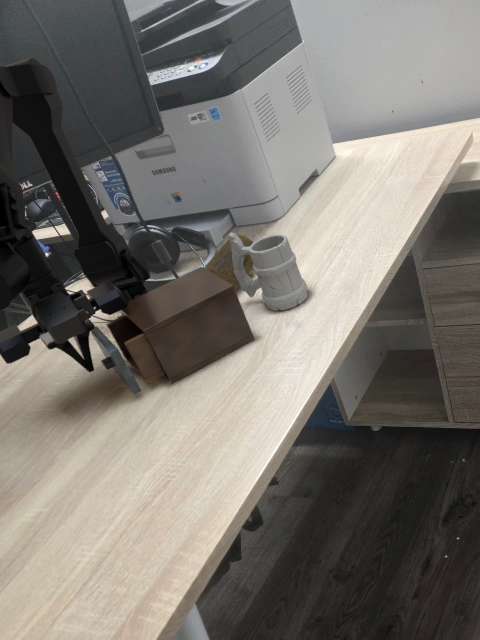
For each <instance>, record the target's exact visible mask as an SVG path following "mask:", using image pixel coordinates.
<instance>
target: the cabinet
mask: <svg viewBox="0 0 480 640" xmlns="http://www.w3.org/2000/svg"><path fill="white" fill-rule="evenodd" d="M204 268H205V267H202V266H200V267H197V268H195V269H193V270H191V271H189V272H187V273H185V274H183V275H180V276H179V277H177V278H175V279H172V280H171V281H168V282H166V283H165V284H162V285H159V286H158V287H156V288H154V289H152V290H150V291H148V293H146V294H144V295H142V296H139V297H137V298H135V299H133V300H131V301H129V302H127V303H128V306H127V307H126V308H124V309H122V310H120V311H119V312H120V313H121V315H123V316H124V315H125V316H126V317H127V318H128V319H129V320H130V321H132V322H133V323H134V324H135V325H136V326H137V327H138V328H139V329H140V330H141V331H142V332H143V333H145V336H146V338H147V339H148V341H149V343H150V345H151V347H152V349H153V351H154V353H155V355H156V357H157V358H158V360H159V362H160V364H161V366H162V368H163V370H164V372H165V375H163V376H162V377H164V378H165V379H166V380H167V381H168V382H169V383H170V384H174V383H176V382H178V381H180V380H181V379H184V378H185V377H188V376H190V375H191V374H193V373H195V372H197V371H198V370H199V371H200V369H202V368H205V367H206V366H208V365H210V364H211V363H214V362H216V361H217V360H219V359H221V358H223V357H225V356H227V355H229V354H230V353H232V352H234V351H236V350H238V349H239V348H241V347H244V346H245V345H247V344H249V343H251V342H252V341H254V340H255V337H254V334H253V332H252V329H251V326H250V324H249V322H248V319H247V317H246V314H245V311H244V309H243V306H242V304H241V301H240V299H239V297H238V294H237V291H236V290H235V289H234V286H233V285H231V284H230V283H228V282H226V281H225V280H223V279H221V278H219V277H218V276H216V275H214V274H213V273H211V272H209V271H208V270H206V269H204Z"/></svg>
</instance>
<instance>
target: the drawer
mask: <svg viewBox="0 0 480 640" xmlns="http://www.w3.org/2000/svg"><path fill="white" fill-rule="evenodd" d="M119 317H120V316H119ZM94 326H95V328H94V329H93V330H91V331H90V335H92V337H93V338H94V340H95V342H96V344H97V346H98V347H99V349H100V351H101V352H102V354H103V356H104V357H105V358H103V359H101V360H100V362H101V363H102V365H103V367H104V368H105V370H106V371H109V370H113V372H114V373H115V374H116V375H117V376H118V378H119V379H120V380H121V381H122V382H123V384H125V386H126V387H127V389H129V391H130V392H131V393H132V394H133V395H134V396H136V395H137V394H139V393H142V388H141V387H140V386H139V384H138V382H137V380H136V378H135V377H134V374H133V373H132V371H131V370H130V368H129V366H128V364H129V365H130V367H132V369H133V370H134V371H135V372H136V373H137V375H139V376H140V377H141V379H143V381H144V382H145V383H146V384H150V383H151V382H153V381H155V380H157V379H159V378H161V377H164V376H163V375H165V372H164V370H163V368H162V366H161V364H160V362H159V360H158V358H157V357H156V355H155V353H154V351H153V349H152V347H151V345H150V343H149V341H148V339H147V338H146V336H145V333H143V332H142V331H141V330H140V329H139V328H138V327H137V326H136V325H135V324H134V323H133V322H132V321H130V320H129V319H128V318H127V317H126V316H125V315H124V316H122V317H120V318H118V317H117V318H116V319H114V320H112V321H110V322H107V323H106V327H107V329H108V330H109V332H110V334H111V335H112V337H113V339H114V341H115V343H116V344H117V347H116V345H115V344H114V343H113V342H112V341H111V340H110V339H109V338H108V336H106V334H105V333H104V332H103V331H102V330H101V329H100V328H99V327H98V326H97V325H94ZM121 353H122V354H121ZM127 363H128V364H127Z"/></svg>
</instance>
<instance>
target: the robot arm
mask: <svg viewBox="0 0 480 640" xmlns="http://www.w3.org/2000/svg"><path fill="white" fill-rule="evenodd" d="M62 120H63V102H62V98H61V97H60V94H59V91H58V84H57V81H56V79H55V76H54V74H53V73H52V71H51V70H50V68H49V67H48V66H47V65H46V64H45V65H44V64H41V62H39V60H37V59H36V58H34V57H30V58H26V59H24V60H20V61H17V62H14V63H9V64H6V65H0V311H3V310H5V309H7V308H8V307H9V306H10V305H11V304H12V302H14V300H15V299H16V298H17V297H18V296H19V297H20V298H21V299H22V301H23V302H24V304H25V306H26V307H27V308H28V311H30V314H31V315H32V317H33V318H34V320H35V321H36V323H35V324H33V325H30V326H29V327H27V328H24V329H23V330H21V329H20V328H19V326H18V325H17V324H14V325H11V326H9V327H7V328H4V329H3V330H0V356H1V358H2V360H3V361H4V362H5V363H6V365H9V364H13V363H15V362H17V361H19V360H22V359H23V358H25V357H27V356H29V354H30V353H31V350H32V349H31V348H32V347H31V345H30V344H31V343H33V342H35V341H37V340H41V342H43V344H44V345H45V347H46V348H47V350H50V351H51V350H54V349H58V350H60V351H61V352H63V353H65V354H66V355H68V356H69V357H71V358H72V359H73V360H74V361H75V362H76V363H78V365H80V366H81V367H82V368H84V369H85V370H86V371H87V372H89V373H92V372H94V371H95V367H94V362H93V357H92V353H91V347H90V334H91V332H90V331H91V330H93V329H94V328H95V326H96V325H95V324H94V323H93V322H92V320H91V319H92V316H94V315H96V313H97V312H98V311H100V312H101V313H102V314H105V315H108V316H112V315H114V314H117V313H118V312H121V311H120V310H122V309H124V308H126V307H127V306H128V303H127V302H129V301H131V300H133V299H135V298H137V297H139V296H142V295H144V294H146V293H148V292H149V291H148V289H147V288H146V285H145V282H146V281H147V280H149V279H151V278H152V276H151V271H150V267H149V265H148V262H147V260H146V259H145V258H144V257H142V256H140V255H139V254H138V253H136V252H135V251H134V250H132V249H130V247H129V245H128V243H127V241H126V240H125V238H124V236H123V235H121V234H120V233H119V232H118V231H116V230H115V229H114V228H112V226H110V225H109V224H107V221H106V220H105V218H104V216H103V214H102V210H101V209H100V207H99V205H98V203H97V200H96V198H95V196H94V194H93V192H92V189H91V188H90V185H89V184H88V182H87V179H86V177H85V175H84V172H83V170H82V168H81V166H80V164H79V162H78V159H77V158H76V155H75V154H74V151H73V149H72V147H71V145H70V143H69V140H68V139H67V136H66V134H65V132H64V130H63V127H62V124H63V123H62V122H63V121H62ZM13 125H14V126H15V127H17V128H18V129H19V130H20V131H22V132H23V134H25V135H26V136H27V137H29V139H30V141H31V143H32V144H33V147H34V149H35V150H36V153H37V155H38V157H39V159H40V161H41V162H42V165H43V167H44V169H45V171H46V173H47V175H48V177H49V179H50V182H51V183H52V185H53V187H54V189H55V192H56V193H57V195H58V197H59V199H60V201H61V203H62V205H63V207H64V209H65V211H66V213H67V215H68V217H69V219H70V221H71V223H72V225H73V227H74V229H75V231H76V233H77V245H76V248H75V249H74V257H75V258H76V261H77V262H78V263H79V265H80V267H81V268H80V269H81V270H82V273H83V276H84V277H85V278H86V279H87V280H88V281H89V283H90V284H91V285H92V286H93V287H92V288H91V289H88V290H87V291H86V293H85V292H84V290H83V289H79V290H78V291H75V292H72V293H69V292H68V290H67V289H66V287H65V285H64V284H63V282H62V280H61V279H60V277H59V275H58V274H57V271H56V270H55V268H54V267H53V265H52V264H51V262H50V260H49V257H47V255H46V253H45V252H44V250H43V248H42V246H41V245H40V243H39V241H38V239H37V238H36V236H35V234H34V233H33V231H34V230H35V229H36V228H37V227H38V226H37V223H36V222H35V221H34V220H30V219H26V202H25V197H24V189H23V186H22V185H21V184H20V182H19V181H18V180H17V178H16V177H15V175H14V173H13V171H14V170H13ZM122 316H123V315H122V314H121V315H119V316H118V317H117V319H118V318H120V317H122ZM72 338H73V339H74V341H75V343H76V345H77V347H78V349H79V352H80V353H79V352H78V350H77V349H76V347H74V345H73V344H72V343H71V342H70V341H69V340H71V339H72Z"/></svg>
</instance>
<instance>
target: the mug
mask: <svg viewBox="0 0 480 640" xmlns="http://www.w3.org/2000/svg"><path fill="white" fill-rule="evenodd" d="M229 239H230V242H231V247H232V248H231V250H232V260H233V267H234V274H235V276H236V278H237V280H238V282H239V287H240V289H242V291H243V292H245V293H246V294H247V295H248V296H249V298H253V297H254V296H255V295H256V293H257V290H259V289H261V291H262V292H261V298H262V301H263V302H264V303H265V305H266V306H267V308H268V310H270V311H273V312H278V311H279V310H280V311H287V310H289V309H292V308H295V307H297V306H298V305H301V304H302V303H303V302H305V301H306V299H307V297H308V291H307V290H308V289H307V288H308V285H307V282H306V280H305V279H303V278H302V274H301V271H300V268H299V266H298V264H297V257H296V253H295V252H294V251H293V250H292V247H291V245H290V243H289V239H288V237H287V235H285V234H280V233H279V234H272V235H267V236H265V237H262V238H259V239H258V240H256V241H253V242H254V243H253V244H252V245H251V246H248V247H244V245H243V243H242V241H241V239H240V238H239V237H238V235H237V234H236V233H234V232H230V233H229V234H228V240H229ZM245 255H251V258H252V261H253V268H252V270H253V272H254V274H255V275H256V276H257V278H255V279H253V278H251V276H249V274H248V275H247V274H246V271H245V269H244V267H243V260H244V256H245Z"/></svg>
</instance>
